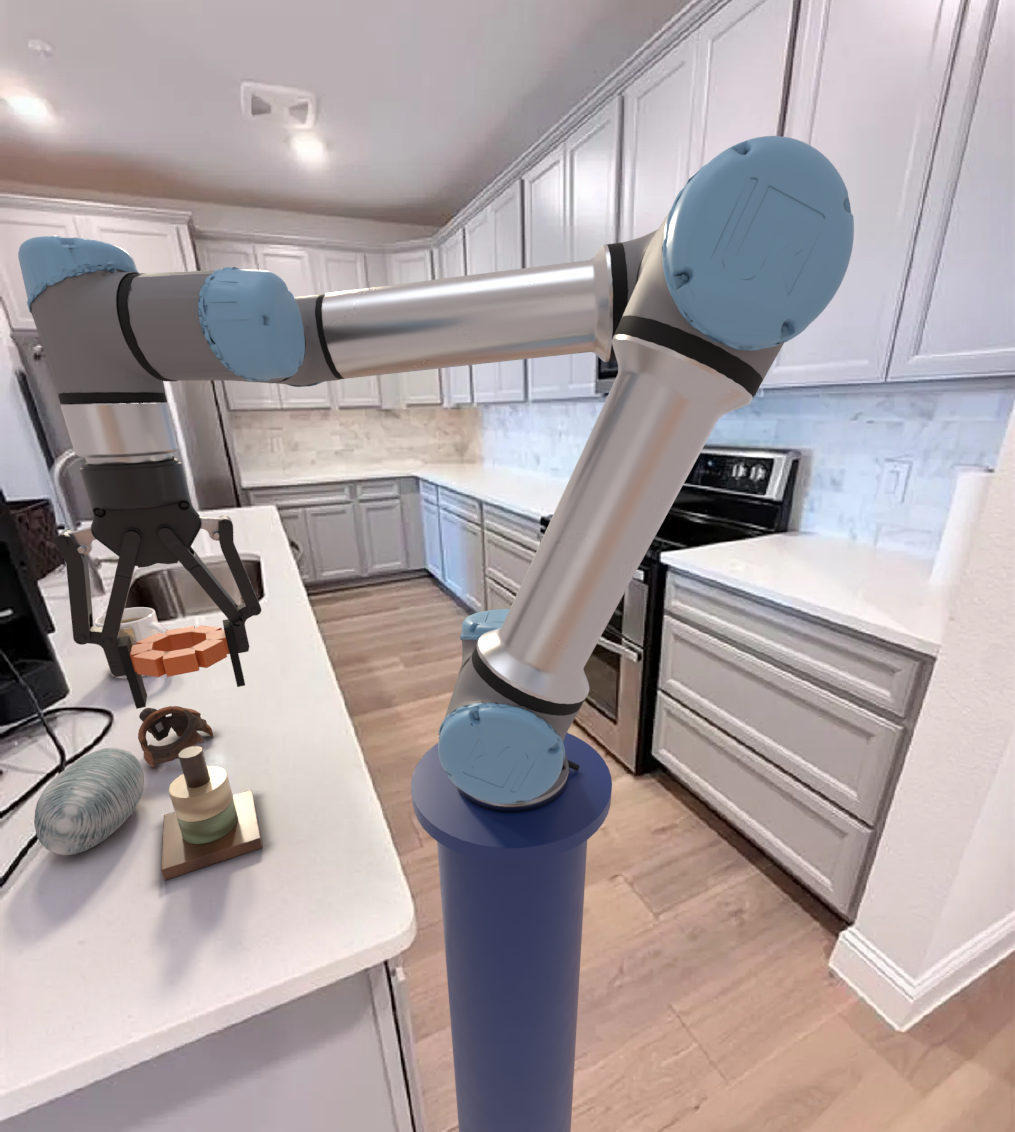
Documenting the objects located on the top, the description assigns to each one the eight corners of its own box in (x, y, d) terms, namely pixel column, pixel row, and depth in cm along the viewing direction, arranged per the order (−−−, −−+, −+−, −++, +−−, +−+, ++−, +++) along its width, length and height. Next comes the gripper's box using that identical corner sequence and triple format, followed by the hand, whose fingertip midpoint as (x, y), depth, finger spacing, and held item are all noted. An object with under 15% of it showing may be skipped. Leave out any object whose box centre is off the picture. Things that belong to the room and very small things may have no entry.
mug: (164, 652, 117) (151, 602, 113) (182, 669, 109) (169, 617, 105) (105, 667, 110) (89, 615, 106) (120, 687, 102) (103, 632, 98)
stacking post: (253, 798, 73) (235, 719, 68) (262, 847, 65) (242, 762, 60) (166, 824, 69) (141, 742, 64) (164, 880, 60) (134, 791, 56)
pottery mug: (233, 738, 87) (213, 712, 80) (189, 790, 82) (164, 768, 75) (173, 708, 90) (149, 681, 83) (127, 757, 84) (97, 733, 78)
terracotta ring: (227, 636, 60) (223, 620, 60) (231, 664, 53) (227, 647, 53) (139, 651, 57) (134, 635, 56) (131, 684, 50) (126, 666, 49)
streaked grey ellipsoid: (79, 767, 74) (84, 719, 69) (156, 787, 77) (166, 742, 72) (8, 862, 63) (7, 813, 58) (100, 881, 66) (108, 836, 61)
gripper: (257, 449, 55) (295, 655, 64) (-13, 462, 46) (73, 700, 55) (265, 454, 49) (306, 682, 58) (-44, 470, 40) (59, 737, 49)
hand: (192, 690), depth 56 cm, fingers closed on terracotta ring, 8 cm apart
